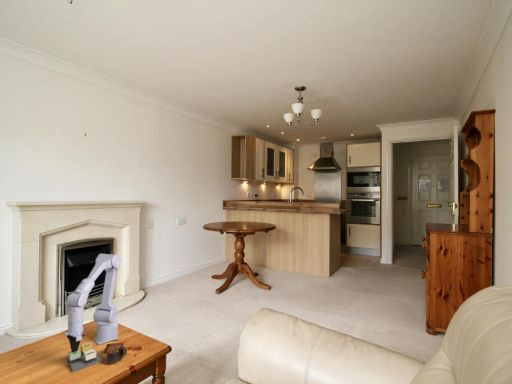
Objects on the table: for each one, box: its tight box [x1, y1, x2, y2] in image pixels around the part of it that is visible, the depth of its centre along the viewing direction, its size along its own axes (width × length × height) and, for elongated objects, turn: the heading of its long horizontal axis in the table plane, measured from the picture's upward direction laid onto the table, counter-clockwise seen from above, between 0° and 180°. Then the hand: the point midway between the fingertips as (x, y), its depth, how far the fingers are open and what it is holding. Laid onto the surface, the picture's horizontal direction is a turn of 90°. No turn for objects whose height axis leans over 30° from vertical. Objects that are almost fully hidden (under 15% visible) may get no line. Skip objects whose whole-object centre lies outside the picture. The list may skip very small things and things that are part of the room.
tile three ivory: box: [84, 348, 97, 361], centre depth 124 cm, size 4×4×2 cm
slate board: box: [65, 347, 102, 373], centre depth 126 cm, size 11×13×1 cm
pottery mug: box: [103, 342, 128, 365], centre depth 128 cm, size 12×10×8 cm
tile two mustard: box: [80, 341, 94, 353], centre depth 130 cm, size 4×4×2 cm
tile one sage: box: [67, 348, 81, 361], centre depth 124 cm, size 4×4×2 cm
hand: (74, 351), depth 124 cm, fingers closed
